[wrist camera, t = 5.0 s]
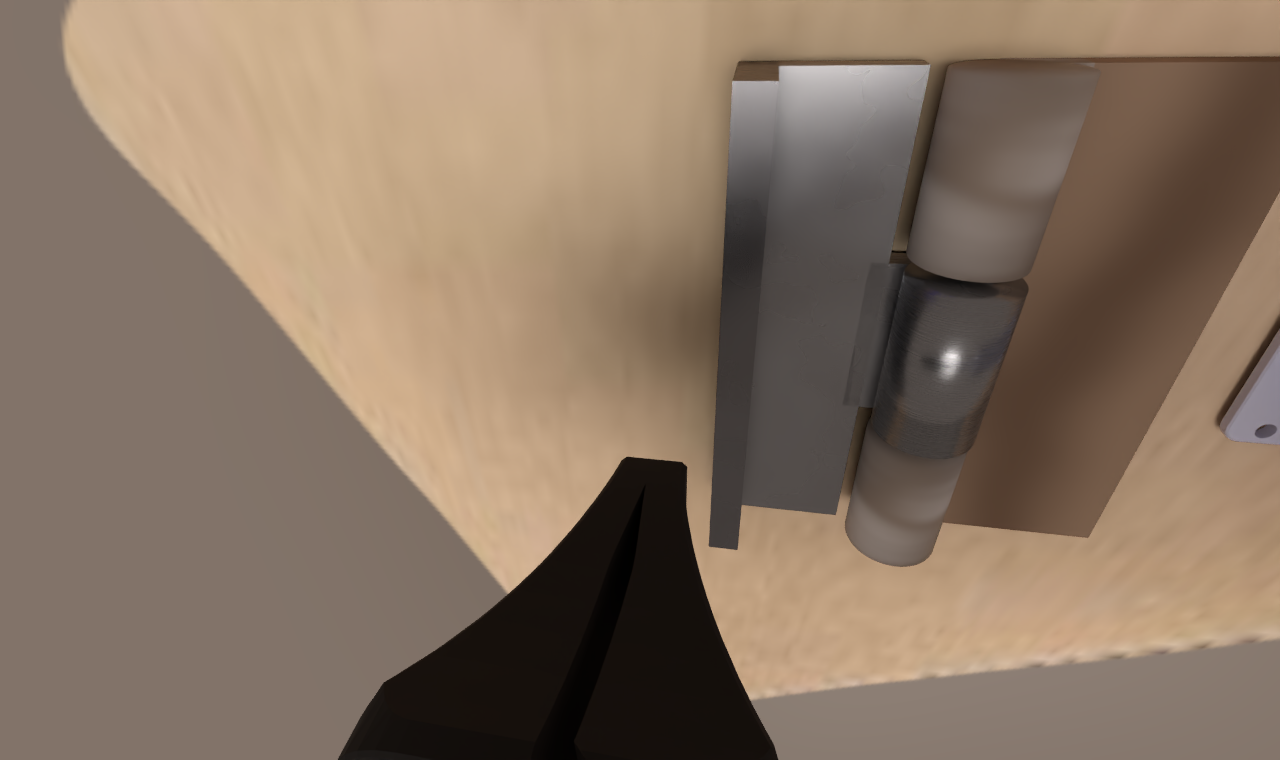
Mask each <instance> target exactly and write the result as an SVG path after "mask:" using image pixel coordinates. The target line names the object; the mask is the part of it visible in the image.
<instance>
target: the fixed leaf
mask: <svg viewBox="0 0 1280 760" xmlns="http://www.w3.org/2000/svg"><path fill="white" fill-rule="evenodd" d="M1279 192H1280V57H1156V58H1012V59H986V60H971V61H962V62H957V63H953V64H950V65H949V66H948V69H947V73H946V78H945V82H944V86H943V91H942V95H941V100H940V104H939V109H938V113H937V117H936V122H935V126H934V131H933V135H932V140H931V144H930V148H929V153H928V157H927V162H926V166H925V171H924V175H923V179H922V184H921V188H920V193H919V197H918V202H917V206H916V210H915V215H914V219H913V224H912V228H911V233H910V237H909V241H908V246H907V251H906V254H907V256H908V258H909V259H910V260H911V261H912V262H913V263H914V264H915V265H917V266H919V267H920V268H922V269H924V270H926V271H929V272H931V273H934V274H937V275H940V276H944V277H947V278H952V279H956V280H962V281H969V282H980V283H1000V282H1009V281H1014V280H1018V279H1021V278H1023V279H1024V280H1025V281H1026V283H1027V284H1028V287H1029V290H1028V294H1027V297H1026V299H1025V302H1024V305H1023V308H1022V311H1021V313H1020V316H1019V319H1018V322H1017V325H1016V327H1015V330H1014V333H1013V336H1012V339H1011V341H1010V344H1009V347H1008V350H1007V353H1006V355H1005V358H1004V361H1003V364H1002V367H1001V369H1000V372H999V375H998V378H997V381H996V383H995V386H994V389H993V392H992V395H991V397H990V400H989V403H988V406H987V409H986V412H985V414H984V417H983V420H982V423H981V426H980V428H979V431H978V434H977V437H976V440H975V442H974V445H973V447H972V448H971V449H970V450H969V451H968V452H966V453H965V454H963V455H960V456H958V457H954V458H948V459H930V458H923V457H918V456H914V455H911V454H908V453H905V452H903V451H901V450H898V449H896V448H894V447H893V446H891V445H889V444H888V443H886V442H885V441H884V440H883V439H882V438H880V436H879V435H878V434H877V433H876V432H875V430H874V428H873V427H872V423H871V418H870V419H869V421H868V423H867V427H866V432H865V436H864V441H863V445H862V450H861V454H860V458H859V463H858V467H857V472H856V476H855V481H854V485H853V489H852V494H851V498H850V503H849V507H848V512H847V516H846V521H845V530H846V533H847V536H848V538H849V540H850V541H851V543H852V544H853V545H854V546H855V547H856V548H857V549H858V550H859V551H860V552H861V553H863V554H864V555H866V556H867V557H869V558H871V559H873V560H875V561H877V562H880V563H883V564H886V565H891V566H899V567H906V566H913V565H917V564H919V563H921V562H923V561H925V560H926V559H927V558H928V557H929V556H930V555H931V553H932V551H933V548H934V545H935V542H936V540H937V537H938V534H939V531H940V528H941V525H942V522H944V523H953V524H963V525H972V526H982V527H991V528H1001V529H1010V530H1019V531H1029V532H1038V533H1048V534H1057V535H1067V536H1076V537H1085V538H1088V537H1089V536H1090V534H1091V532H1092V530H1093V528H1094V526H1095V525H1096V523H1097V521H1098V519H1099V517H1100V516H1101V514H1102V512H1103V510H1104V508H1105V507H1106V505H1107V503H1108V501H1109V499H1110V498H1111V496H1112V494H1113V492H1114V490H1115V488H1116V487H1117V485H1118V483H1119V481H1120V479H1121V478H1122V476H1123V474H1124V472H1125V470H1126V469H1127V467H1128V465H1129V463H1130V461H1131V460H1132V458H1133V456H1134V454H1135V452H1136V450H1137V449H1138V447H1139V445H1140V443H1141V441H1142V440H1143V438H1144V436H1145V434H1146V432H1147V431H1148V429H1149V427H1150V425H1151V423H1152V422H1153V420H1154V418H1155V416H1156V414H1157V412H1158V411H1159V409H1160V407H1161V405H1162V403H1163V402H1164V400H1165V398H1166V396H1167V394H1168V393H1169V391H1170V389H1171V387H1172V385H1173V384H1174V382H1175V380H1176V378H1177V376H1178V374H1179V373H1180V371H1181V369H1182V367H1183V365H1184V364H1185V362H1186V360H1187V358H1188V356H1189V355H1190V353H1191V351H1192V349H1193V347H1194V346H1195V344H1196V342H1197V340H1198V338H1199V337H1200V335H1201V333H1202V331H1203V329H1204V327H1205V326H1206V324H1207V322H1208V320H1209V318H1210V317H1211V315H1212V313H1213V311H1214V309H1215V308H1216V306H1217V304H1218V302H1219V300H1220V299H1221V297H1222V295H1223V293H1224V291H1225V289H1226V288H1227V286H1228V284H1229V282H1230V280H1231V279H1232V277H1233V275H1234V273H1235V271H1236V270H1237V268H1238V266H1239V264H1240V262H1241V261H1242V259H1243V257H1244V255H1245V253H1246V251H1247V250H1248V248H1249V246H1250V244H1251V242H1252V241H1253V239H1254V237H1255V235H1256V233H1257V232H1258V230H1259V228H1260V226H1261V224H1262V223H1263V221H1264V219H1265V217H1266V215H1267V213H1268V212H1269V210H1270V208H1271V206H1272V204H1273V203H1274V201H1275V199H1276V197H1277V195H1278V194H1279Z"/></svg>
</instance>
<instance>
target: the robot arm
mask: <svg viewBox="0 0 1280 760" xmlns="http://www.w3.org/2000/svg"><path fill="white" fill-rule="evenodd" d="M1263 425H1266V426H1265V427H1263V428H1261V429H1258V428H1259V427H1261V426H1263ZM1257 429H1258V430H1257ZM1220 430H1221V431H1222V432H1223V434H1224V435H1225V436H1226V437H1227V438H1229V439H1230V440H1233V441H1237V442H1249V443H1262V444H1274V445H1280V329H1279V330H1278V332H1277V334H1276V335H1275V337H1274V338H1273V340H1272V342H1271V343H1270V345H1269V346H1268V348H1267V349H1266V351H1265V353H1264V354H1263V356H1262V357H1261V359H1260V361H1259V362H1258V364H1257V365H1256V367H1255V368H1254V370H1253V372H1252V373H1251V375H1250V376H1249V378H1248V380H1247V381H1246V383H1245V384H1244V386H1243V387H1242V389H1241V391H1240V392H1239V394H1238V395H1237V397H1236V399H1235V400H1234V402H1233V403H1232V405H1231V406H1230V408H1229V410H1228V411H1227V413H1226V414H1225V416H1224V418H1223V419H1222V421H1221V423H1220ZM686 493H687V466H685V465H684V464H683V463H682V462H675V461H665V460H655V459H644V458H634V457H626V458H624V459H623V460H622V461H621V463H620V464H619V466H618V468H617V469H616V471H615V472H614V474H613V475H612V477H611V478H610V480H609V481H608V483H607V484H606V486H605V487H604V489H603V490H602V491H601V493H600V494H599V495H598V497H597V498H596V500H595V501H594V502H593V503H592V505H591V506H590V507H589V509H588V510H587V511H586V512H585V514H584V515H583V516H582V517H581V519H580V520H579V521H578V523H577V524H576V525H575V526H574V527H573V529H572V530H571V531H570V532H569V533H568V534H567V535H566V536H565V538H564V539H563V540H562V541H561V542H560V543H559V544H558V546H557V547H556V548H555V549H554V550H553V551H552V552H551V553H550V554H549V555H548V557H547V558H546V559H545V560H544V561H543V562H542V563H541V564H540V565H539V566H538V567H537V568H536V569H535V570H534V571H533V572H532V573H531V574H530V575H529V576H527V577H526V578H525V579H524V580H523V581H522V582H521V583H520V584H519V585H518V586H517V587H516V588H515V589H513V590H512V591H511V592H510V593H509V594H508V595H507V596H505V597H504V598H503V599H502V600H501V601H500V602H498V603H497V604H496V605H495V606H494V607H493V608H491V609H490V610H489V611H488V612H487V613H485V614H484V615H483V616H481V617H480V618H479V619H478V620H476V621H475V622H474V623H472V624H471V625H470V626H468V627H467V628H465V630H463V631H461V632H460V633H459V634H457V635H456V636H455V637H453V638H452V639H451V640H449V641H448V642H446V643H445V644H444V645H442V646H441V647H439V648H438V649H437V650H435V651H433V652H432V653H430V654H429V655H427V656H426V657H424V658H423V659H421V660H419V661H418V662H416V663H415V664H413V665H411V666H410V667H408V668H407V669H405V670H404V671H402V672H401V673H399V674H397V675H396V676H394V677H392V678H391V679H389V680H387V681H386V682H384V683H383V684H382V686H381V687H380V689H379V690H378V692H377V693H376V695H375V696H374V698H373V699H372V701H371V702H370V703H369V705H368V706H367V708H366V710H365V711H364V713H363V714H362V716H361V718H360V719H359V721H358V723H357V725H356V727H355V729H354V730H353V732H352V734H351V736H350V738H349V740H348V742H347V743H346V745H345V747H344V749H343V751H342V753H341V755H340V756H339V758H338V760H778V758H777V754H776V751H775V747H774V744H773V742H772V740H771V739H770V737H769V735H768V733H767V732H766V730H765V728H764V726H763V724H762V722H761V720H760V719H759V717H758V715H757V713H756V711H755V709H754V707H753V705H752V704H751V701H750V699H749V697H748V695H747V693H746V691H745V689H744V687H743V685H742V683H741V681H740V679H739V677H738V674H737V672H736V670H735V667H734V665H733V663H732V660H731V658H730V656H729V653H728V651H727V649H726V647H725V644H724V642H723V640H722V637H721V635H720V632H719V629H718V627H717V624H716V621H715V619H714V616H713V613H712V610H711V607H710V604H709V601H708V599H707V596H706V592H705V589H704V586H703V583H702V579H701V576H700V572H699V568H698V564H697V561H696V557H695V553H694V548H693V544H692V539H691V533H690V528H689V523H688V516H687V509H686Z"/></svg>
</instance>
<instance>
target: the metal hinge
mask: <svg viewBox="0 0 1280 760" xmlns="http://www.w3.org/2000/svg"><path fill="white" fill-rule="evenodd" d="M930 66H931V65H930V64H929V63H927V62H926V61H924V60H886V61H739V62H738V66H737V69H736V72H735V75H734V78H733V81H732V99H731V119H730V139H729V159H728V179H727V198H726V218H725V238H724V258H723V277H722V297H721V317H720V337H719V357H718V376H717V396H716V416H715V436H714V456H713V475H712V495H711V515H710V535H709V547H718V548H726V549H734V550H737V549H738V538H739V527H740V516H741V505H748V506H757V507H767V508H776V509H785V510H795V511H804V512H813V513H823V514H832V515H836V511H837V506H838V501H839V497H840V492H841V487H842V482H843V478H844V473H845V468H846V463H847V459H848V454H849V449H850V445H851V440H852V435H853V430H854V426H855V421H856V416H857V411H858V407H869V408H873V410H872V415H871V423H872V427H873V428H874V430H875V432H876V433H877V434H878V435H879V436H880V438H882V439H883V440H884V441H885V442H886V443H888V444H889V445H891V446H893V447H894V448H896V449H898V450H901V451H903V452H905V453H908V454H911V455H914V456H918V457H923V458H930V459H948V458H954V457H958V456H960V455H963V454H965V453H966V452H968V451H969V450H970V449H971V448H972V447H973V445H974V442H975V440H976V437H977V434H978V431H979V428H980V426H981V423H982V420H983V417H984V414H985V412H986V409H987V406H988V403H989V400H990V397H991V395H992V392H993V389H994V386H995V383H996V381H997V378H998V375H999V372H1000V369H1001V367H1002V364H1003V361H1004V358H1005V355H1006V353H1007V350H1008V347H1009V344H1010V341H1011V339H1012V336H1013V333H1014V330H1015V327H1016V325H1017V322H1018V319H1019V316H1020V313H1021V311H1022V308H1023V305H1024V302H1025V299H1026V297H1027V294H1028V290H1029V287H1028V284H1027V283H1026V281H1025V280H1024V279H1023V278H1021V279H1018V280H1014V281H1009V282H1000V283H980V282H969V281H962V280H956V279H952V278H947V277H944V276H940V275H937V274H934V273H931V272H929V271H926V270H924V269H922V268H920V267H919V266H917V265H915V264H914V263H913V262H912V261H911V260H910V259H909V258H908V256H907V254H906V253H891V251H892V246H893V241H894V236H895V232H896V227H897V222H898V218H899V213H900V208H901V203H902V199H903V194H904V189H905V184H906V180H907V175H908V170H909V166H910V161H911V156H912V151H913V147H914V142H915V137H916V132H917V128H918V123H919V118H920V114H921V109H922V104H923V99H924V95H925V90H926V85H927V80H928V76H929V71H930Z"/></svg>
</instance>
